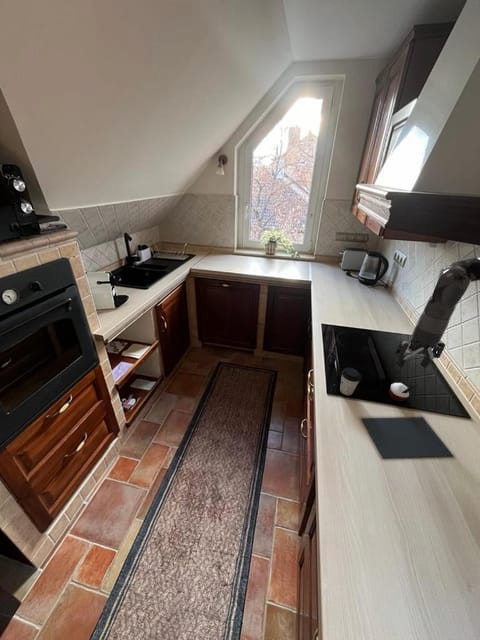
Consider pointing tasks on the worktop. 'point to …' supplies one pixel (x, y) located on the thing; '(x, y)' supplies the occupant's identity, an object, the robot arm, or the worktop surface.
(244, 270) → the worktop surface
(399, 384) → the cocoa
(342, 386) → the coffee cup
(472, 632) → the worktop surface
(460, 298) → the robot arm
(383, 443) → the mat
